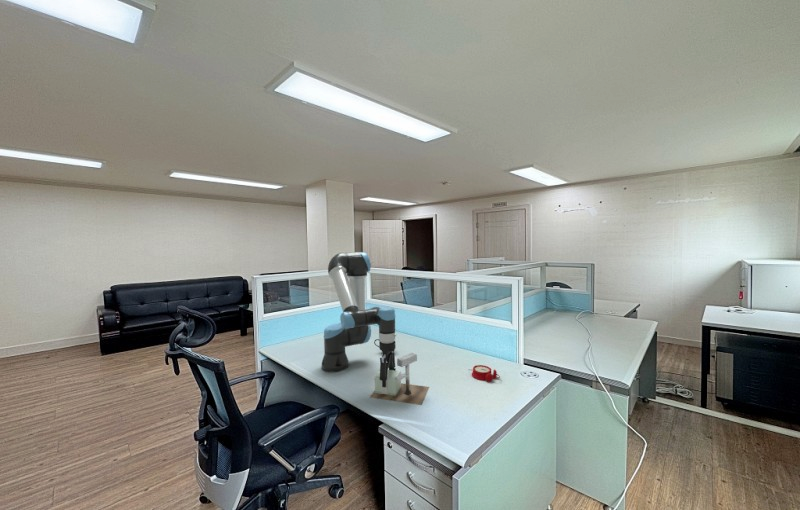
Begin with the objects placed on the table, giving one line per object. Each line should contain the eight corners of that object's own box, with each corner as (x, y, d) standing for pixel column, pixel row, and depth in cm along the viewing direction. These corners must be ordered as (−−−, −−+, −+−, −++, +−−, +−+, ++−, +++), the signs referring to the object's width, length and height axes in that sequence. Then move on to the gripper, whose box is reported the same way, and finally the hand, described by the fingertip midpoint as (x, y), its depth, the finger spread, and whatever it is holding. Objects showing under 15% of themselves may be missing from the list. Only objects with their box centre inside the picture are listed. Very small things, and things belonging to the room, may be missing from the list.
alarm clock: (476, 363, 165) (501, 364, 155) (478, 374, 165) (504, 377, 154) (466, 369, 158) (491, 370, 148) (468, 381, 157) (494, 384, 147)
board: (369, 399, 136) (369, 395, 136) (382, 382, 151) (382, 379, 151) (421, 407, 129) (421, 403, 129) (429, 388, 144) (429, 385, 144)
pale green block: (374, 393, 139) (374, 376, 139) (381, 384, 147) (380, 368, 147) (395, 396, 136) (395, 378, 136) (401, 387, 144) (400, 371, 144)
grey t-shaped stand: (398, 398, 133) (398, 362, 132) (394, 395, 135) (393, 360, 134) (417, 388, 141) (416, 354, 141) (412, 386, 144) (412, 352, 143)
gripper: (387, 349, 130) (388, 401, 131) (401, 334, 150) (402, 379, 151) (371, 347, 132) (372, 398, 133) (387, 333, 152) (387, 377, 153)
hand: (388, 388), depth 142 cm, fingers closed on pale green block, 8 cm apart
